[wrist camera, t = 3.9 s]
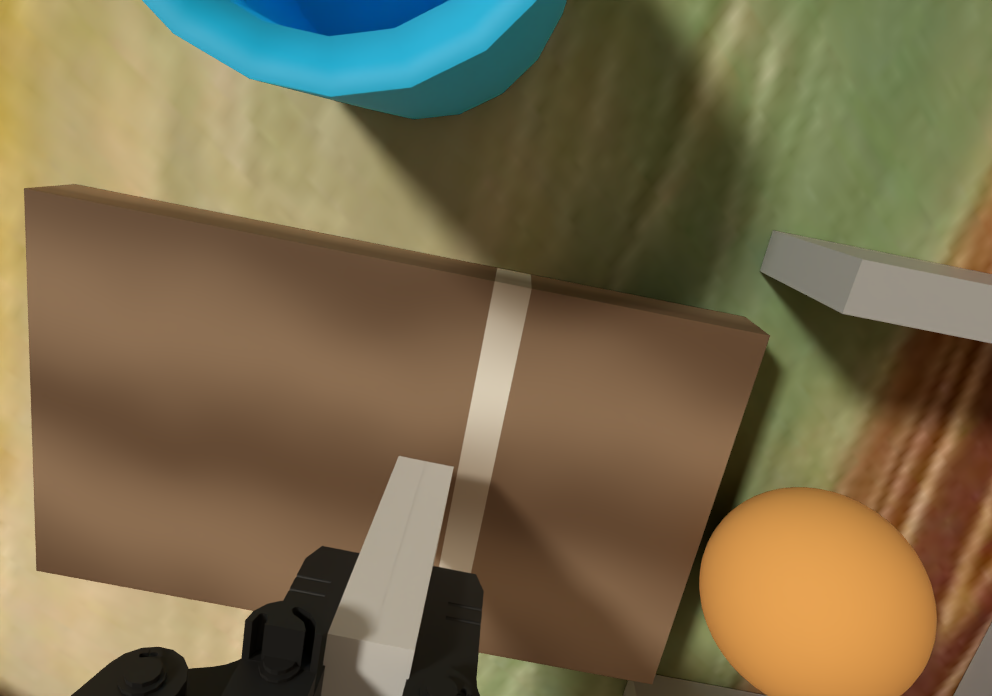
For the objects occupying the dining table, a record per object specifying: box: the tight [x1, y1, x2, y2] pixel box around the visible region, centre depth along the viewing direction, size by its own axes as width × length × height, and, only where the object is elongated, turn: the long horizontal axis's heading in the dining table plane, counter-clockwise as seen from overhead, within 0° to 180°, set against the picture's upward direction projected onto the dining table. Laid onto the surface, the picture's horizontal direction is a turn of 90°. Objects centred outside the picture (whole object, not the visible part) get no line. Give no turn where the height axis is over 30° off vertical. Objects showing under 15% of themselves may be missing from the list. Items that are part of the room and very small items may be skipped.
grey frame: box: [623, 230, 992, 696], centre depth 19 cm, size 17×13×5 cm
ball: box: [699, 487, 937, 696], centre depth 18 cm, size 6×6×6 cm
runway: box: [24, 184, 770, 684], centre depth 20 cm, size 12×20×2 cm, turn 79°
